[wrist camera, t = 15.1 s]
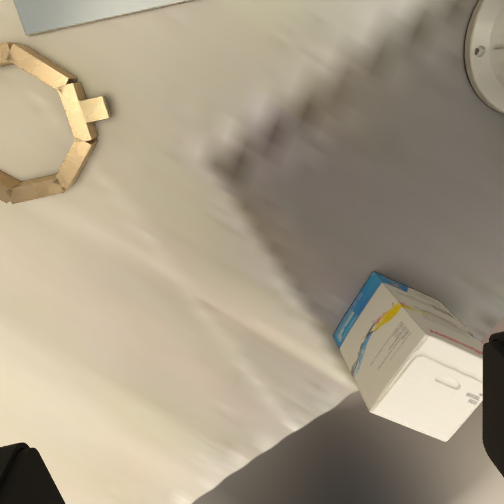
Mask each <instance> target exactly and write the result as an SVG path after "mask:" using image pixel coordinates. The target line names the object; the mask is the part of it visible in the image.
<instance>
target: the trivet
mask: <svg viewBox="0 0 504 504" xmlns="http://www.w3.org/2000/svg"><path fill="white" fill-rule="evenodd" d="M13 1H14V4H15V7H16V9H17V12H18V15H19V18H20V20H21V23H22V26H23V29H24V32H25V34H26V35H28V36H31V35H36V34H41V33H45V32H50V31H54V30H59V29H64V28H68V27H73V26H77V25H82V24H87V23H91V22H96V21H101V20H105V19H110V18H114V17H119V16H124V15H128V14H133V13H138V12H142V11H147V10H151V9H156V8H161V7H165V6H170V5H174V4H179V3H184V2H188V1H193V0H13Z"/></svg>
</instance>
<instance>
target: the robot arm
mask: <svg viewBox="0 0 504 504" xmlns="http://www.w3.org/2000/svg"><path fill="white" fill-rule="evenodd" d="M475 49H476V54H475ZM465 63H466V70H467V74H468V77H469V80H470V82H471V85H472V87H473V88H474V90H475V92H476V93H477V95H478V96H479V97H480V98H481V99H482V100H483V101H484V102H485V103H486V104H487V105H488V106H489V107H491V108H493V109H494V110H496V111H498V112H501V113H504V0H479V2H478V3H477V5H476V7H475V9H474V11H473V14H472V17H471V20H470V22H469V25H468V30H467V35H466V40H465ZM483 444H484V447H485V450H486V452H487V454H488V456H489V457H490V459H491V461H492V462H493V463H494V465H495V466H496V467H497V469H498V470H499V471H500V473H501V474H502V475H503V477H504V332H499V333H495V334H492V335H491V336H490V338H489V343H485V344H484V345H483ZM0 504H65V502H64V500H63V498H62V496H61V494H60V492H59V490H58V489H57V487H56V485H55V483H54V481H53V479H52V477H51V475H50V473H49V471H48V469H47V467H46V465H45V463H44V462H43V460H42V458H41V456H40V454H39V452H38V451H37V449H36V448H30V447H29V446H28V445H27V444H26V443H17V444H12V445H8V446H4V447H0Z"/></svg>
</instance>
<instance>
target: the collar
mask: <svg viewBox="0 0 504 504" xmlns="http://www.w3.org/2000/svg"><path fill="white" fill-rule="evenodd" d="M10 64H15V65H17V66H18V67H20V68H22V69H23V70H25V71H27V72H28V73H30V74H31V75H33V76H35V77H36V78H38V79H40V80H41V81H43V82H45V83H46V84H48V85H49V86H51V87H53V88H54V89H56V90H58V92H59V95H60V98H61V101H62V104H63V106H64V109H65V112H66V115H67V118H68V121H69V124H70V127H71V129H72V132H73V135H74V138H75V141H74V143H73V145H72V147H71V149H70V150H69V152H68V154H67V156H66V158H65V160H64V162H63V164H62V166H61V168H60V170H59V172H58V173H57V174H54V175H49V176H45V177H40V178H36V179H31V180H27V181H22V182H21V181H19V180H17V179H15V178H13V177H11V176H10V175H8V174H6V173H4V172H2V171H0V200H1V201H3V202H5V203H8V202H9V201H11V203H12V204H14V203H19V202H23V201H28V200H33V199H37V198H42V197H46V196H51V195H55V194H60V193H64V192H65V191H66V190H68V189H69V188H70V187H71V186H72V185H73V184H74V183H75V182H76V180H77V179H78V177H79V175H80V173H81V171H82V169H83V167H84V166H85V164H86V162H87V160H88V158H89V156H90V154H91V153H92V151H93V149H94V147H95V145H96V143H97V141H98V140H97V139H95V137H97V136H98V133H97V130H96V127H95V124H94V121H97V120H102V119H106V118H110V117H111V114H110V111H109V107H108V104H107V101H106V98H105V96H100V97H96V98H91V99H86V96H85V93H84V90H83V87H82V84H81V82H80V83H75V82H76V80H77V77H75V76H74V75H72V74H71V73H69V72H67V71H66V70H64V69H63V68H61V67H59V66H58V65H56V64H55V63H53V62H51V61H50V60H48V59H47V58H45V57H44V56H42V55H40V54H39V53H37V52H36V51H34V50H32V49H31V48H29V47H28V46H26V45H20V44H15V43H2V44H0V66H5V65H10Z"/></svg>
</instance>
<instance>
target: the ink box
mask: <svg viewBox="0 0 504 504" xmlns="http://www.w3.org/2000/svg"><path fill="white" fill-rule="evenodd" d="M333 337H334V339H335V341H336V343H337V345H338V347H339V349H340V351H341V354H342V356H343V358H344V360H345V362H346V364H347V366H348V368H349V370H350V372H351V374H352V376H353V378H354V380H355V382H356V384H357V387H358V389H359V391H360V393H361V395H362V397H363V399H364V401H365V403H366V405H367V407H368V409H369V411H370V412H371V413H373V414H376V415H378V416H381V417H384V418H386V419H388V420H391V421H394V422H396V423H399V424H401V425H404V426H406V427H409V428H411V429H414V430H416V431H419V432H422V433H424V434H426V435H429V436H432V437H434V438H437V439H439V440H442V441H444V442H445V441H447V440H449V439H450V437H451V436H452V435H453V434H454V433H455V432H456V431H457V430H458V428H459V427H460V426H461V425H462V424H463V423H464V422H465V420H466V419H467V418H468V417H469V416H470V414H471V413H472V412H473V411H474V410H475V409H476V407H477V406H478V405H479V404H480V403H481V401H482V400H483V345H482V344H481V343H480V342H479V341H478V340H477V339H476V338H475V337H474V336H473V335H472V334H471V333H470V332H469V331H468V330H467V329H466V328H465V327H464V326H463V325H462V324H461V323H460V322H459V321H458V320H457V319H456V318H455V317H454V316H453V315H452V314H451V313H450V312H449V311H448V310H447V309H446V308H445V307H444V306H443V305H442V304H441V303H440V302H439V301H438V300H436V299H434V298H431V297H429V296H427V295H425V294H423V293H420V292H418V291H416V290H414V289H411V288H409V287H407V286H404V285H402V284H400V283H398V282H395V281H393V280H391V279H388V278H386V277H384V276H382V275H380V274H378V273H376V272H372V273H371V276H370V278H369V279H368V281H367V282H366V284H365V285H364V287H363V288H362V290H361V291H360V293H359V294H358V296H357V297H356V299H355V300H354V302H353V304H352V305H351V307H350V308H349V310H348V311H347V313H346V315H345V316H344V318H343V319H342V321H341V323H340V324H339V326H338V328H337V330H336V331H335V333H334V335H333Z"/></svg>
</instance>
